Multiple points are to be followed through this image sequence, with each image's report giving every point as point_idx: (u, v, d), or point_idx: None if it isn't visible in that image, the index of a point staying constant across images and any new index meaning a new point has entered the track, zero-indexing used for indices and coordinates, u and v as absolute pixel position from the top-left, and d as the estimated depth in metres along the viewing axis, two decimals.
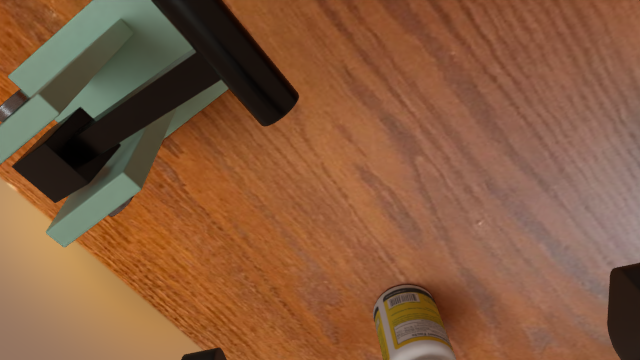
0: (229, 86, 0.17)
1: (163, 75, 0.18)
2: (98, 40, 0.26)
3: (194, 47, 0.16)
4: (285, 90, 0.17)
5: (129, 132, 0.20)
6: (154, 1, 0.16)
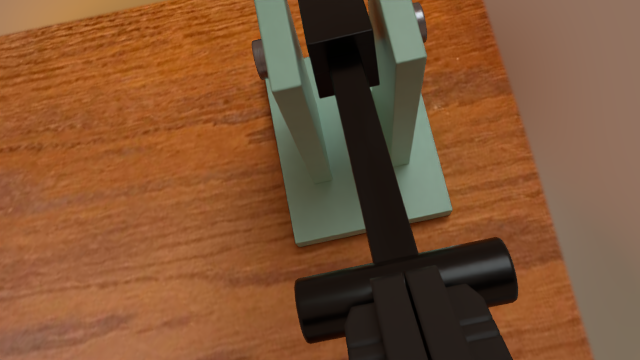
0: (364, 270, 0.13)
1: (401, 198, 0.14)
2: (412, 135, 0.24)
3: (427, 256, 0.13)
4: (327, 333, 0.13)
5: (345, 121, 0.17)
6: (497, 242, 0.13)
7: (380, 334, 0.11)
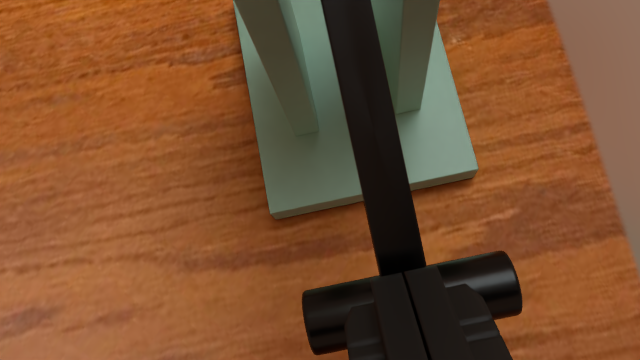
0: None
1: (413, 207, 0.13)
2: (428, 57, 0.17)
3: None
4: None
5: (344, 79, 0.13)
6: (511, 276, 0.13)
7: (380, 334, 0.11)
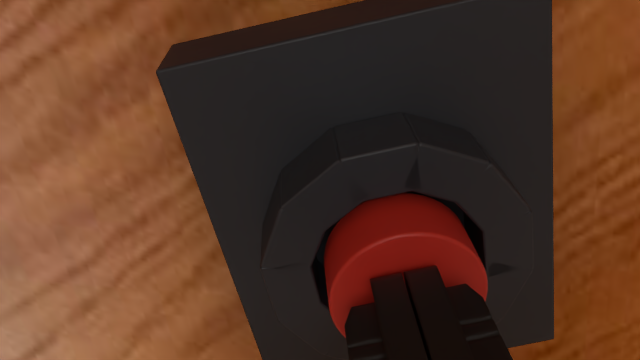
0: None
1: None
2: None
3: None
4: None
5: None
6: None
7: (380, 334, 0.11)
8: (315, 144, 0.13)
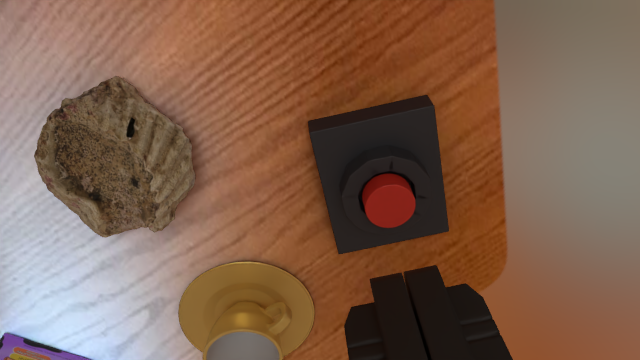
0: None
1: None
2: None
3: None
4: None
5: None
6: None
7: (380, 334, 0.11)
8: (359, 155, 0.40)
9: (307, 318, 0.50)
